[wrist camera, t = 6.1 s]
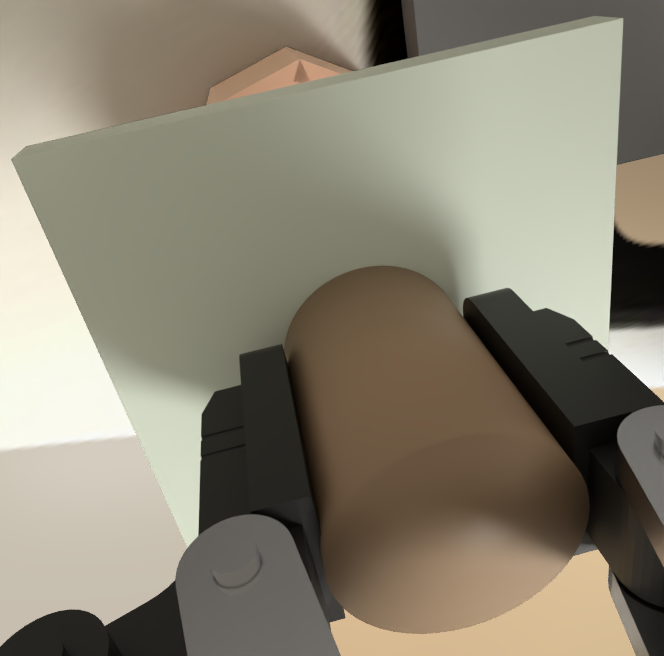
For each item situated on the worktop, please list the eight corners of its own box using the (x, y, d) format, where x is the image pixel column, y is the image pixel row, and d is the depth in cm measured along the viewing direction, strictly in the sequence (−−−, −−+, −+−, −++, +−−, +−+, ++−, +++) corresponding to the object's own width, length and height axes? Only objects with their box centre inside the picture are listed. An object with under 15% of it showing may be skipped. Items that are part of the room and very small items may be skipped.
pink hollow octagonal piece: (417, 95, 22) (454, 115, 19) (351, 269, 25) (372, 315, 22) (225, 24, 20) (227, 32, 17) (177, 222, 23) (169, 264, 20)
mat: (695, -180, 19) (729, -192, 18) (666, 138, 24) (691, 146, 23) (388, -116, 19) (400, -123, 18) (423, 195, 24) (435, 207, 23)
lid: (594, 16, 10) (930, 41, 5) (583, 444, 14) (759, 661, 10) (26, 146, 9) (-156, 301, 5) (201, 546, 14) (195, 824, 9)
